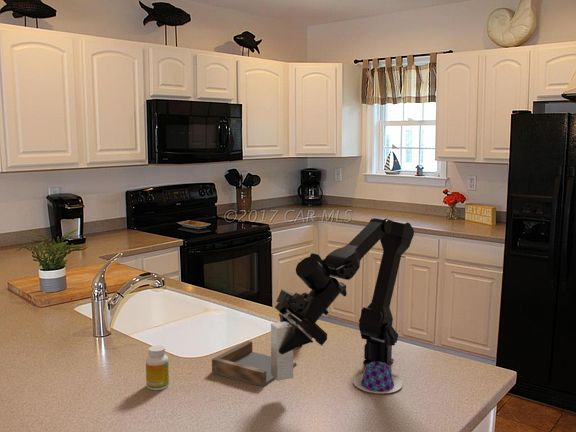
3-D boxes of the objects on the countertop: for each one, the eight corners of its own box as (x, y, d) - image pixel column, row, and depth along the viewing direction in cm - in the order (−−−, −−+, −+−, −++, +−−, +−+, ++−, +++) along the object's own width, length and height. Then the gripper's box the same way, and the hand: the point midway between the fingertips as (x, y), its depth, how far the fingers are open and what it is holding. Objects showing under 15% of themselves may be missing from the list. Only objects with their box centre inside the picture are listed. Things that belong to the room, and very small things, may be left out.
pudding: (362, 372, 149) (363, 352, 148) (407, 381, 144) (408, 361, 143) (345, 389, 139) (346, 369, 138) (393, 400, 133) (394, 379, 132)
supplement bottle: (168, 390, 137) (167, 351, 136) (145, 391, 136) (144, 352, 135) (169, 380, 142) (168, 343, 141) (147, 382, 141) (146, 344, 140)
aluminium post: (286, 371, 136) (286, 321, 135) (293, 377, 133) (293, 326, 131) (271, 374, 135) (270, 323, 133) (277, 380, 131) (277, 328, 129)
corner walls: (296, 362, 153) (296, 352, 152) (262, 384, 139) (262, 372, 139) (248, 350, 161) (248, 340, 160) (212, 370, 147) (211, 359, 147)
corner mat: (296, 364, 153) (296, 362, 153) (262, 386, 139) (262, 384, 139) (248, 352, 161) (248, 350, 161) (212, 372, 147) (212, 370, 147)
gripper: (282, 269, 141) (240, 317, 138) (315, 287, 124) (268, 343, 121) (310, 296, 145) (270, 344, 142) (346, 318, 128) (301, 372, 125)
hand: (276, 349), depth 132 cm, fingers closed on aluminium post, 4 cm apart
